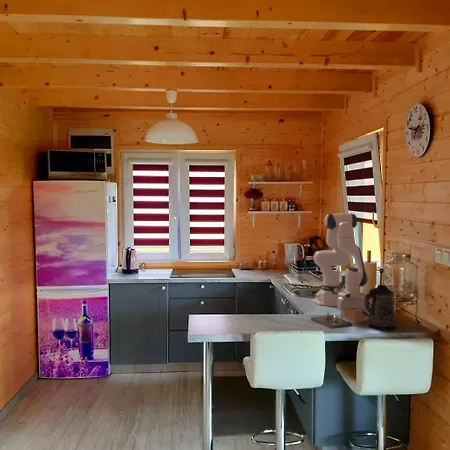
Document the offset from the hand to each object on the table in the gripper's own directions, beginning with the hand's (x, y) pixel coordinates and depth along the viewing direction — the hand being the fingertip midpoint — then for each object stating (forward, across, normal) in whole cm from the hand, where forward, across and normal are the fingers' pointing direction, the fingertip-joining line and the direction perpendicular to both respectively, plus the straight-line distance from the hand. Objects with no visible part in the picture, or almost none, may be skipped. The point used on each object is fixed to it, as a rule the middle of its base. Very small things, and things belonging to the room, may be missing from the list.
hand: (351, 315), depth 294 cm
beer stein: (+3, -4, +22) cm, 23 cm away
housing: (+3, 0, 0) cm, 3 cm away
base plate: (+3, +17, +2) cm, 17 cm away
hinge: (+3, -21, -8) cm, 23 cm away
